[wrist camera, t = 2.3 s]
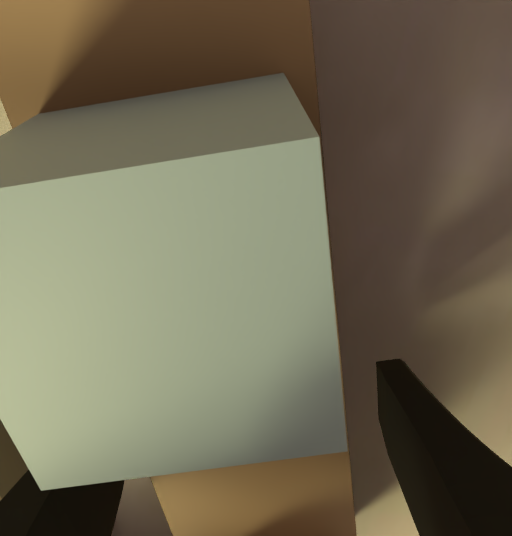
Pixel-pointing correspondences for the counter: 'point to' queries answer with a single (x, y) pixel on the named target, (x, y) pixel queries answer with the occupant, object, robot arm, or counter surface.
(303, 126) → the block
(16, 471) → the dock
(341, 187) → the counter surface
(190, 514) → the board
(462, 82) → the counter surface
